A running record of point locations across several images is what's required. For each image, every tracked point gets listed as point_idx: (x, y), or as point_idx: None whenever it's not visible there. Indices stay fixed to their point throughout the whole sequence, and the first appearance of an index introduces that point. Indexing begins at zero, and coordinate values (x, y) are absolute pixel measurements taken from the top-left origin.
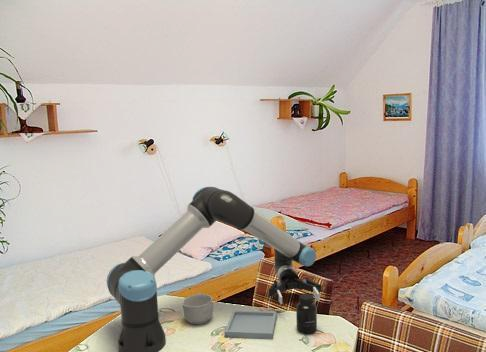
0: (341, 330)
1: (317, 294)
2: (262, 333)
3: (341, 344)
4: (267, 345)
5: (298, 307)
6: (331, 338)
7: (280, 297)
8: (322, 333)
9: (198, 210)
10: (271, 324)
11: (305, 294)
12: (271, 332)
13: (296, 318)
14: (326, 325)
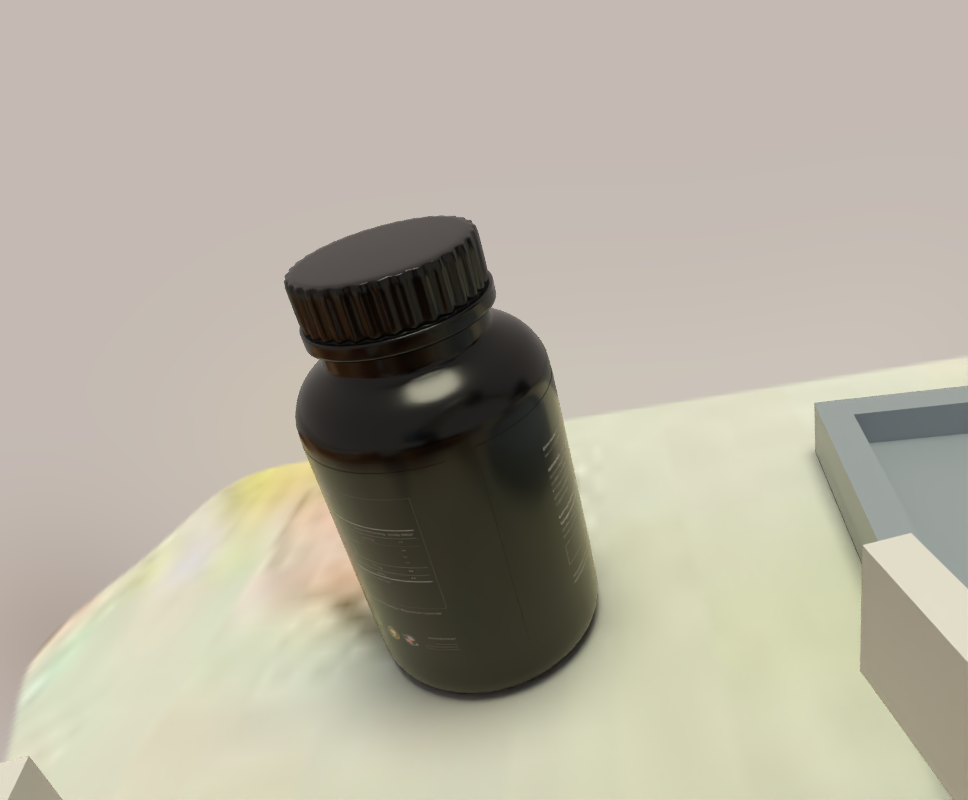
0: (158, 649)
1: (31, 784)
2: (916, 393)
3: (274, 487)
4: (825, 394)
5: (520, 321)
6: (309, 533)
7: (905, 544)
8: (353, 584)
9: None
10: (901, 513)
11: (374, 270)
12: (829, 411)
13: (577, 489)
14: (250, 727)
